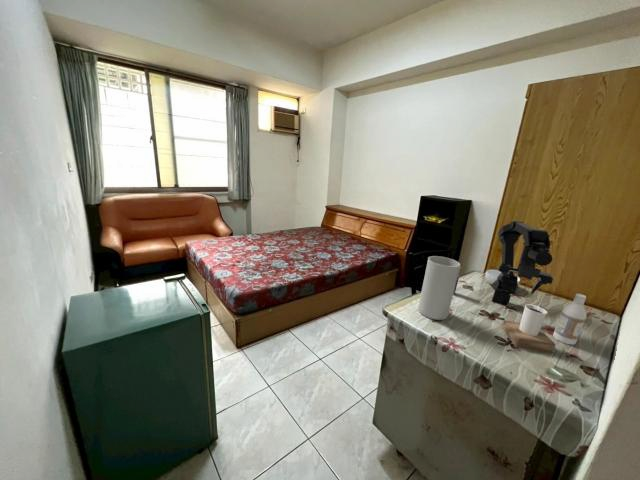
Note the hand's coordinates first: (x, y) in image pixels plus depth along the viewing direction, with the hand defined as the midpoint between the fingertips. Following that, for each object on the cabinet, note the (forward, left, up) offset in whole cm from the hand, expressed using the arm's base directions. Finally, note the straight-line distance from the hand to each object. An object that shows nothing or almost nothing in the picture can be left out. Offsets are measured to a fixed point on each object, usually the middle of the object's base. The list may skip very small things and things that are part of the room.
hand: (518, 290), depth 117 cm
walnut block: (+5, -19, -13) cm, 24 cm away
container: (-27, +5, -13) cm, 30 cm away
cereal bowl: (-6, +37, -13) cm, 40 cm away
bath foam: (+18, -7, -13) cm, 23 cm away
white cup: (+5, -19, -9) cm, 22 cm away
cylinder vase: (-29, -24, -13) cm, 40 cm away
